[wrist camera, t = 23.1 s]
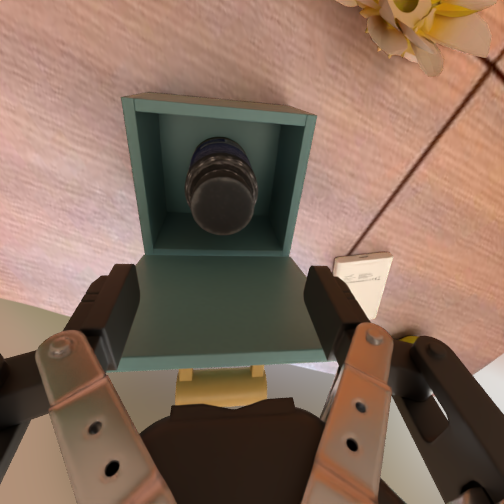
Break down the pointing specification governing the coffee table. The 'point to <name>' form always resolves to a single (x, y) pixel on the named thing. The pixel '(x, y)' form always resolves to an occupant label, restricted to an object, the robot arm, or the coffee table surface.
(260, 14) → the coffee table surface
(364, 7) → the decorative flower
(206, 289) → the lid
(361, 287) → the hard drive
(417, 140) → the coffee table surface
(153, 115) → the chest
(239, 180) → the pill bottle
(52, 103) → the coffee table surface
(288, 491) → the robot arm
